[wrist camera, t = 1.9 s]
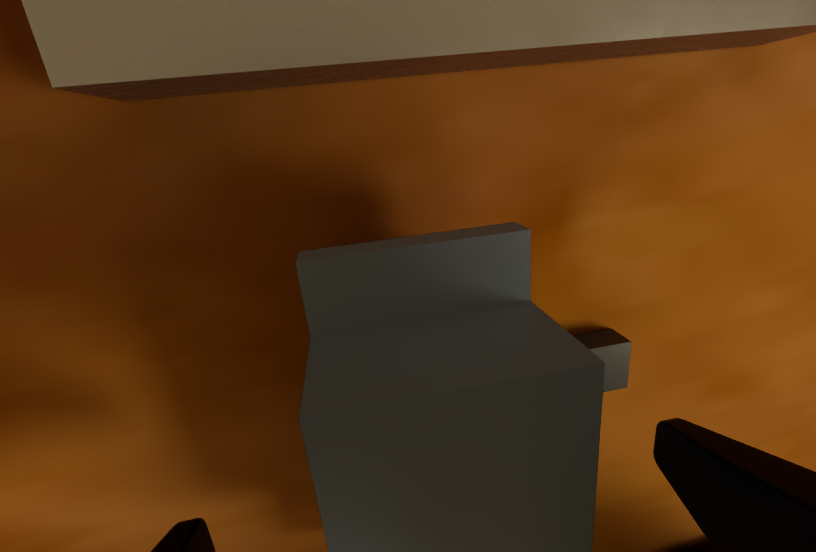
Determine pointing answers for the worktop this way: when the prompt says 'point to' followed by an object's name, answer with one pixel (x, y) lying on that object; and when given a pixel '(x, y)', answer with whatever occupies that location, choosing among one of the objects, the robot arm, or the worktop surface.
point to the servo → (449, 398)
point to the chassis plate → (370, 38)
